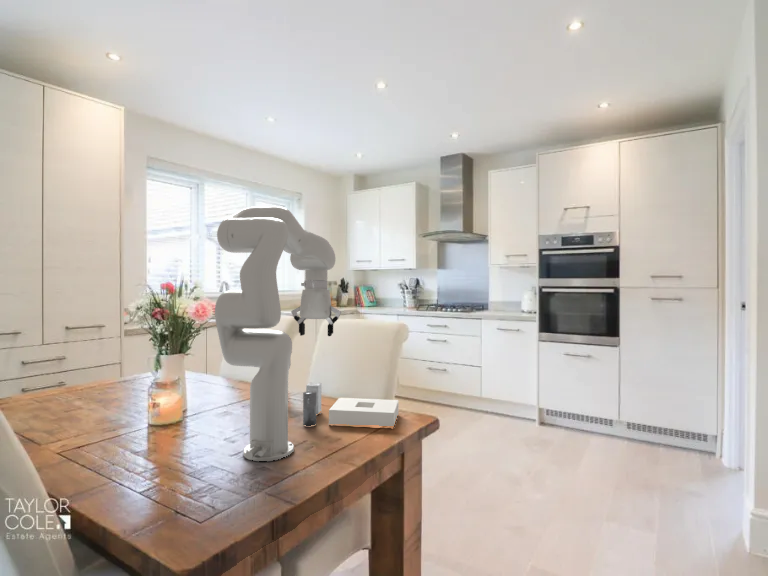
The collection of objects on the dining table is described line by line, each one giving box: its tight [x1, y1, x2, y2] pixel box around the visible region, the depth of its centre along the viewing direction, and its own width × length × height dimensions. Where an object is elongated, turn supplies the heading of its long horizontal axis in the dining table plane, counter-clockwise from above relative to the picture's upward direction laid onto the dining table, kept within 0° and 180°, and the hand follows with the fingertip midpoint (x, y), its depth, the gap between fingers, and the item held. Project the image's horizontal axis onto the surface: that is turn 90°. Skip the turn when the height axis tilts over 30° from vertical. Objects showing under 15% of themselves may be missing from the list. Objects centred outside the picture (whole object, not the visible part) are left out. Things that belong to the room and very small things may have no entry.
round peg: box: [302, 391, 317, 426], centre depth 133 cm, size 4×4×10 cm
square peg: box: [305, 382, 322, 414], centre depth 144 cm, size 4×4×10 cm
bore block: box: [328, 397, 399, 426], centre depth 138 cm, size 14×20×5 cm
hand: (316, 335), depth 148 cm, fingers open, 9 cm apart
